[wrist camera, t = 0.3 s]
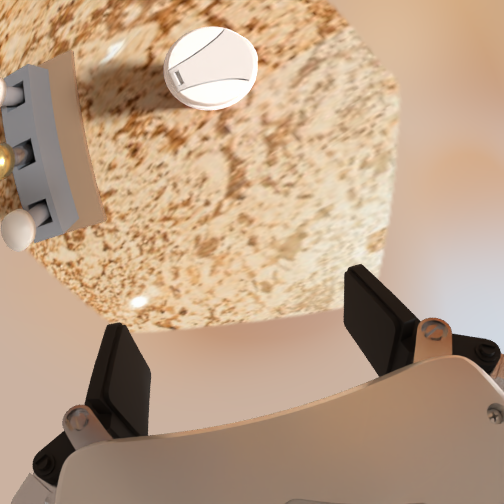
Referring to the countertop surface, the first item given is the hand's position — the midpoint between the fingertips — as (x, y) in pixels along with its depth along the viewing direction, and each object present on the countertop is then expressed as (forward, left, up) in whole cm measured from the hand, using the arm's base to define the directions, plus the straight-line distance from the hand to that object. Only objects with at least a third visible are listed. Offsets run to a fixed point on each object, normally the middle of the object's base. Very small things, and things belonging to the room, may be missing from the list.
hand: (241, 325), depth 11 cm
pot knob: (-11, -22, -26) cm, 36 cm away
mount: (-11, -22, -31) cm, 39 cm away
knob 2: (-3, -22, -26) cm, 34 cm away
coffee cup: (-13, +2, -31) cm, 34 cm away
